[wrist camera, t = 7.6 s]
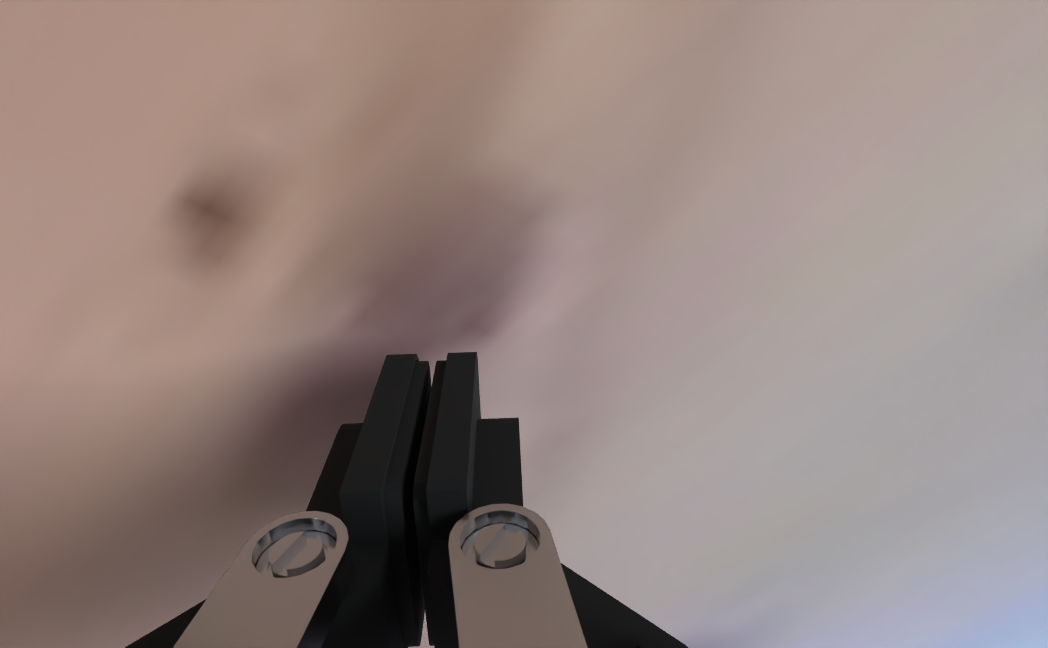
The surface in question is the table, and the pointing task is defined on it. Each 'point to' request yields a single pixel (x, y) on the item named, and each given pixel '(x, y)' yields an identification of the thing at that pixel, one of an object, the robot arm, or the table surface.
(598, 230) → the table surface
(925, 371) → the table surface
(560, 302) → the table surface
